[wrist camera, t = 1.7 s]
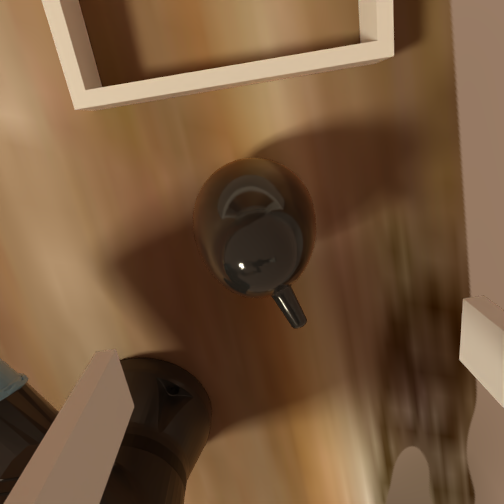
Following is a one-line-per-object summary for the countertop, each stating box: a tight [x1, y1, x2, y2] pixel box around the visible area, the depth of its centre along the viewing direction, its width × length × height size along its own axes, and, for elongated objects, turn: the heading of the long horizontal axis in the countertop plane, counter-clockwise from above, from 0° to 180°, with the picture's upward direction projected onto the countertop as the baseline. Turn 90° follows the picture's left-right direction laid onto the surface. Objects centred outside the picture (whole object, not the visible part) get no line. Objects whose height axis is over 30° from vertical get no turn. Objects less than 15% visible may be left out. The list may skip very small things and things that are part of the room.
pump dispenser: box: [193, 158, 316, 329], centre depth 28 cm, size 10×10×15 cm
